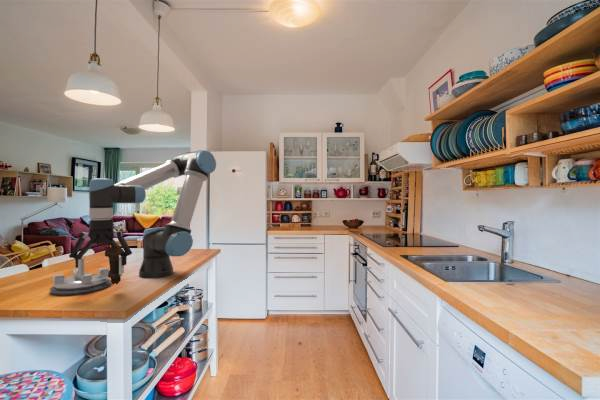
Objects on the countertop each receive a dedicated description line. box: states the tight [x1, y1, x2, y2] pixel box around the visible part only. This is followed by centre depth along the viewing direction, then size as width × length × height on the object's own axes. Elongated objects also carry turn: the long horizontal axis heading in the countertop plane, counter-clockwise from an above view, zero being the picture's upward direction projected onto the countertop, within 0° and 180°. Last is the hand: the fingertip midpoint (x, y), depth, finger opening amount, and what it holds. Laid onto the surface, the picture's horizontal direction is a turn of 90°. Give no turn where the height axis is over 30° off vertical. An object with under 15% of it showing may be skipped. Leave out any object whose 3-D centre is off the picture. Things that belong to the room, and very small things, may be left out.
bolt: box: [104, 246, 123, 285], centre depth 110 cm, size 6×5×15 cm
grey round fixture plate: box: [52, 267, 110, 291], centre depth 118 cm, size 18×18×5 cm
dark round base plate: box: [49, 278, 112, 297], centre depth 118 cm, size 20×20×2 cm
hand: (101, 275), depth 108 cm, fingers open, 13 cm apart
